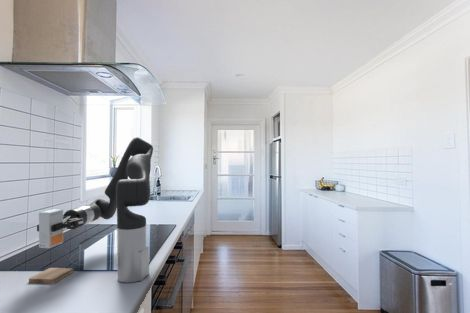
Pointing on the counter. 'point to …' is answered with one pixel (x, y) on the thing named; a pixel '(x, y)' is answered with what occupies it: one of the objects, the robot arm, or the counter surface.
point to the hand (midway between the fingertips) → (45, 228)
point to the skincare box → (45, 223)
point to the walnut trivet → (51, 275)
